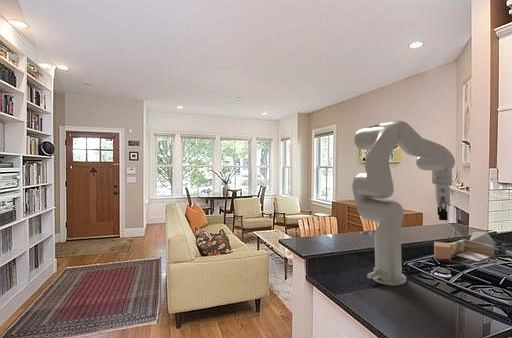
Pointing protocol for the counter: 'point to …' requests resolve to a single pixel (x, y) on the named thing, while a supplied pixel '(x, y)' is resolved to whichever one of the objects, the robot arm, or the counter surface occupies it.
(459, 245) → the tan box
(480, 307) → the counter surface
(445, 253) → the cube
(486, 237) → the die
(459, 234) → the counter surface
